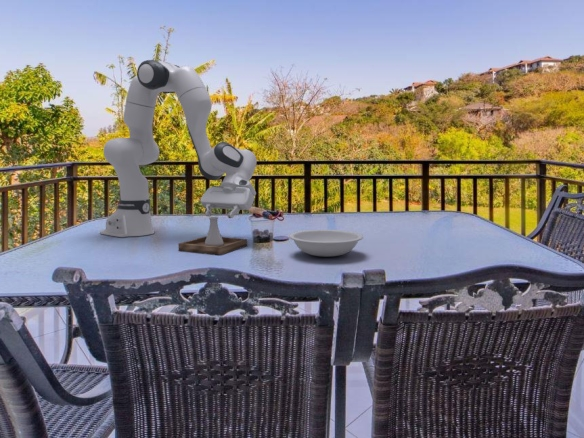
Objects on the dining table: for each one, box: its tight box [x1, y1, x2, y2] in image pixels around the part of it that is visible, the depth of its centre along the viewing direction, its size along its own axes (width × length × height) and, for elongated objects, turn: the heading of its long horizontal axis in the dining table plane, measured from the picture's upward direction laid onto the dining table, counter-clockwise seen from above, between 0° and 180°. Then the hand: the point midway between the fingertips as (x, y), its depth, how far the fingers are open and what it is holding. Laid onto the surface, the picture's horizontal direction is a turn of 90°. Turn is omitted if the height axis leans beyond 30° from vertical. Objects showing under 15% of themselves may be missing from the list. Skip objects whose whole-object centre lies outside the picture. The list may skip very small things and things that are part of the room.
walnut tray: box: [178, 235, 248, 256], centre depth 169 cm, size 17×17×2 cm
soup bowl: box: [288, 229, 364, 258], centre depth 157 cm, size 24×24×7 cm
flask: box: [204, 216, 224, 247], centre depth 168 cm, size 7×7×10 cm
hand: (218, 216), depth 171 cm, fingers open, 8 cm apart
